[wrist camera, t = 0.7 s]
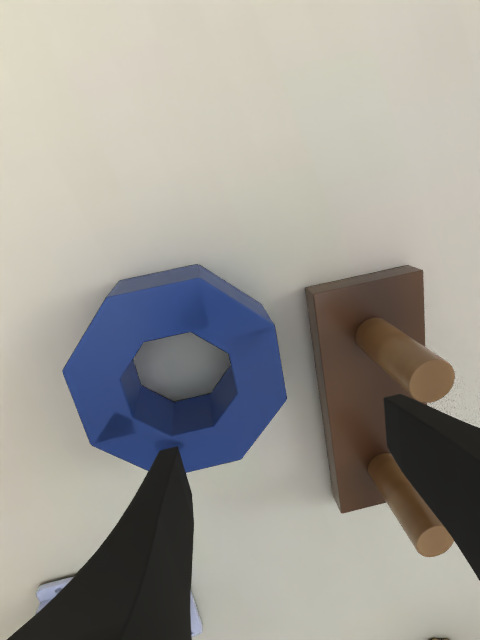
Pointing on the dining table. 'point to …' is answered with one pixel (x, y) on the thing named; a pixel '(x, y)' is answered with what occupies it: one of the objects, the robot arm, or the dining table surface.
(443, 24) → the dining table surface
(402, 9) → the dining table surface
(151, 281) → the ring
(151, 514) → the robot arm
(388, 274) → the rack
